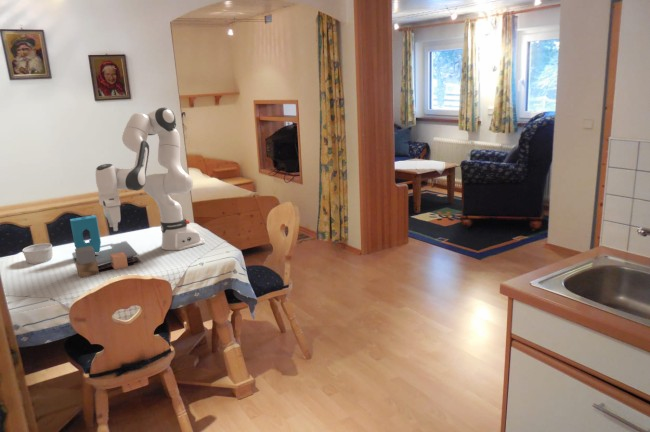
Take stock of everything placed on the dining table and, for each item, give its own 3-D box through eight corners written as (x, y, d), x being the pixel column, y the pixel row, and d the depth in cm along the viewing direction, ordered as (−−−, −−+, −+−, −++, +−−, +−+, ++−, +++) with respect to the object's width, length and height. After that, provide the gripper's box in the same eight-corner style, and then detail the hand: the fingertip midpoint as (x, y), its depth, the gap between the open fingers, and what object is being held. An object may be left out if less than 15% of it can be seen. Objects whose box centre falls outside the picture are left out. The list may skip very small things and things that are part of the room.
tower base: (96, 269, 243) (93, 257, 241) (99, 273, 236) (97, 261, 235) (77, 273, 239) (75, 261, 237) (80, 278, 232) (78, 265, 231)
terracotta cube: (125, 263, 249) (123, 251, 247) (128, 266, 244) (126, 254, 242) (112, 266, 245) (110, 254, 244) (114, 269, 241) (112, 257, 239)
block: (77, 259, 257) (70, 221, 252) (76, 256, 262) (69, 219, 256) (103, 254, 263) (96, 217, 258) (101, 252, 267) (95, 215, 262)
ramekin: (30, 266, 250) (27, 253, 248) (21, 261, 259) (18, 248, 257) (58, 259, 259) (56, 246, 258) (48, 254, 268) (46, 241, 266)
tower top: (93, 257, 241) (91, 245, 239) (96, 261, 235) (94, 249, 233) (77, 261, 237) (74, 248, 235) (79, 265, 231) (77, 252, 230)
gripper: (98, 197, 243) (102, 225, 246) (106, 204, 226) (110, 234, 230) (112, 195, 246) (116, 223, 250) (121, 202, 230) (125, 231, 233)
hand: (113, 228), depth 239 cm, fingers open, 8 cm apart
